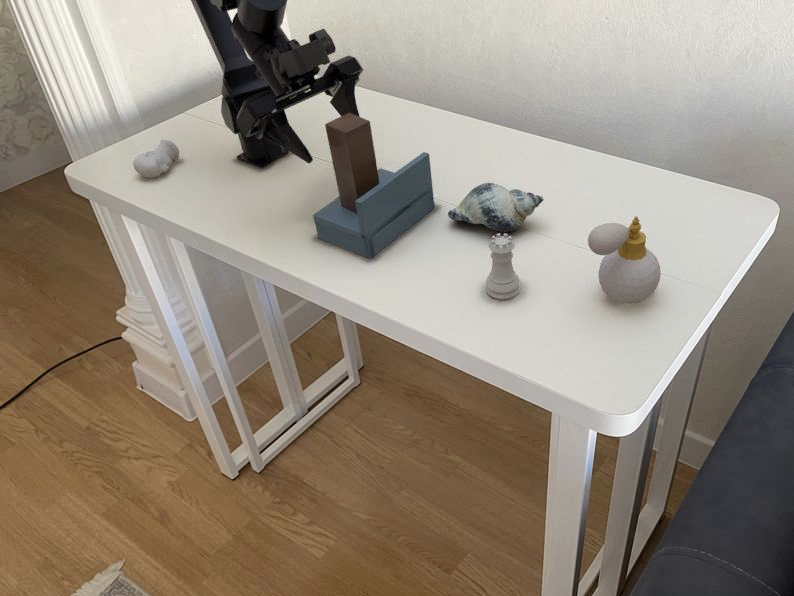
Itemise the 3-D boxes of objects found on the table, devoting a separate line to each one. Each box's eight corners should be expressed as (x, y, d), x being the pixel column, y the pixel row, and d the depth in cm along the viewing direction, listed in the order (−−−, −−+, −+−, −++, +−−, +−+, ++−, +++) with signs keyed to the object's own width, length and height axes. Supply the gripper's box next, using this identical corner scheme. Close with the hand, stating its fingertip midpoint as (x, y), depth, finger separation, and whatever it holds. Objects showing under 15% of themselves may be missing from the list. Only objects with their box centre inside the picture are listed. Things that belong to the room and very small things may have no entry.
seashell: (472, 215, 110) (539, 238, 104) (442, 218, 104) (512, 243, 98) (480, 173, 107) (549, 194, 101) (450, 174, 101) (522, 197, 96)
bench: (318, 238, 105) (305, 183, 98) (383, 190, 113) (375, 137, 107) (370, 259, 100) (360, 203, 94) (434, 207, 109) (429, 153, 103)
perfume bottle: (667, 290, 92) (681, 209, 84) (630, 332, 86) (641, 250, 78) (614, 270, 95) (623, 190, 87) (576, 310, 90) (581, 229, 82)
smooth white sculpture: (152, 189, 120) (130, 174, 121) (190, 167, 124) (168, 152, 125) (148, 169, 116) (125, 153, 118) (186, 147, 121) (165, 132, 122)
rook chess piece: (483, 281, 95) (481, 230, 90) (517, 278, 95) (517, 227, 90) (487, 302, 92) (485, 251, 86) (522, 299, 92) (522, 247, 87)
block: (341, 206, 103) (324, 124, 95) (363, 193, 105) (349, 112, 97) (360, 216, 101) (345, 133, 92) (382, 203, 103) (369, 120, 95)
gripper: (223, 37, 86) (300, 149, 88) (343, -7, 96) (409, 95, 98) (207, 85, 96) (276, 185, 97) (317, 40, 105) (378, 132, 107)
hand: (337, 148), depth 100 cm, fingers open, 9 cm apart
